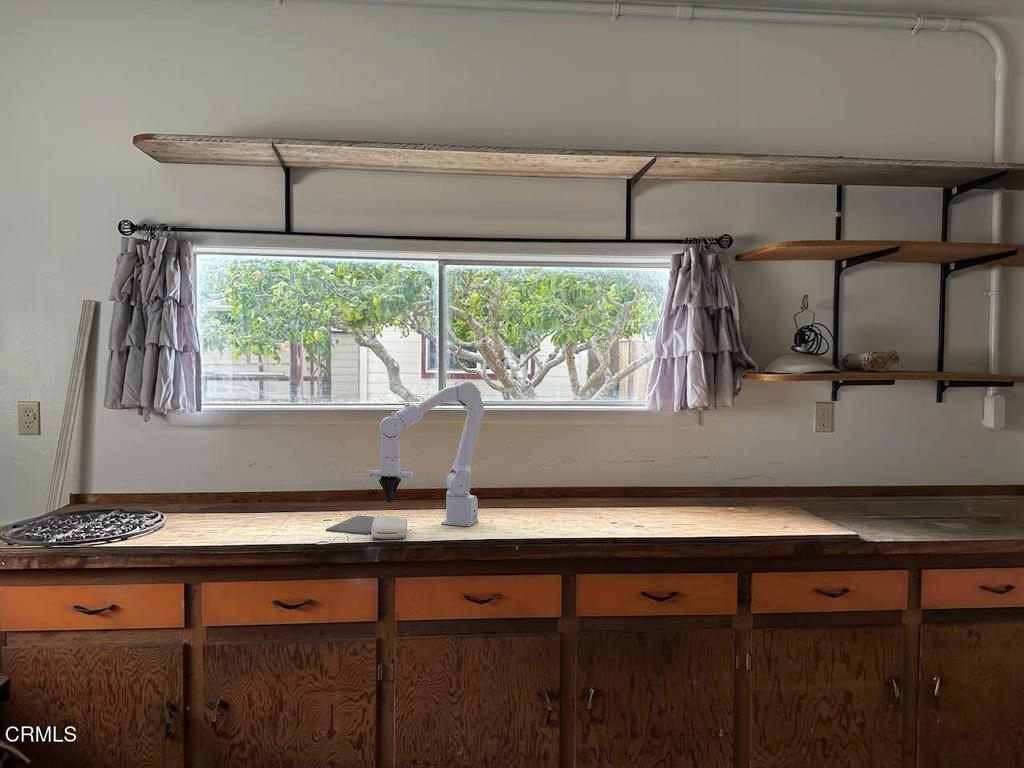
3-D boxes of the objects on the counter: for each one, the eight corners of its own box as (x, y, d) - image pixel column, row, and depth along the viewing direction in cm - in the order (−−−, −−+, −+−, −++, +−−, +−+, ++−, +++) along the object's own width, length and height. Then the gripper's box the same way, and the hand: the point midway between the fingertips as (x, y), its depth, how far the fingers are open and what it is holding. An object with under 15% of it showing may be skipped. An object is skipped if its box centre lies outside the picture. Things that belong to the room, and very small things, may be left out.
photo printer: (408, 514, 188) (407, 525, 176) (407, 529, 189) (406, 541, 176) (373, 514, 187) (369, 525, 175) (372, 529, 187) (369, 541, 175)
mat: (396, 520, 199) (396, 518, 199) (367, 534, 182) (367, 533, 182) (357, 516, 203) (357, 515, 203) (325, 530, 186) (325, 529, 186)
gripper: (361, 457, 188) (361, 502, 188) (406, 459, 184) (406, 506, 184) (373, 454, 194) (373, 497, 195) (416, 456, 190) (416, 501, 191)
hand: (390, 501), depth 190 cm, fingers closed
